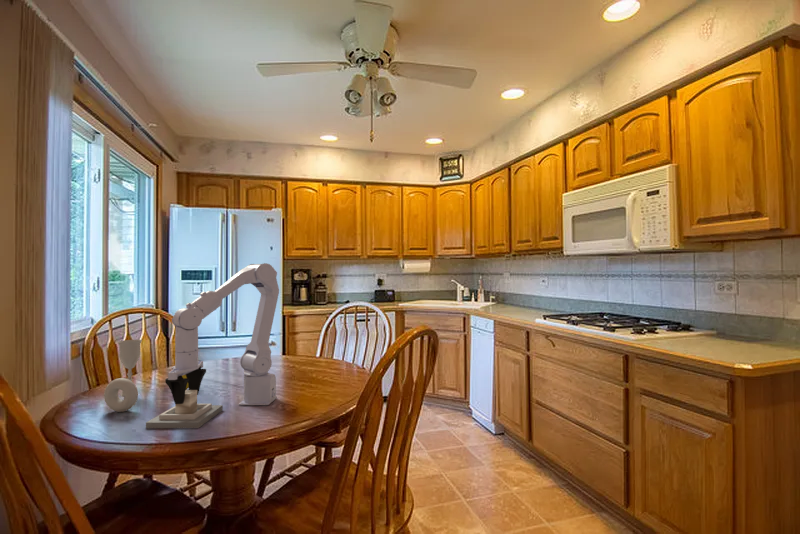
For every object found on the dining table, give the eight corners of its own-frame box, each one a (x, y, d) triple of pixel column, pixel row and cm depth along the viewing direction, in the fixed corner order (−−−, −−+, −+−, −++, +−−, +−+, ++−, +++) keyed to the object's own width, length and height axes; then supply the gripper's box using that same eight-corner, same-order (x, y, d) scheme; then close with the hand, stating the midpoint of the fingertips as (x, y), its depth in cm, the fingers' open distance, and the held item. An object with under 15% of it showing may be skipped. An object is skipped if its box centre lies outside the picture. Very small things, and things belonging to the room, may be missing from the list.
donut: (100, 413, 118) (101, 379, 118) (110, 409, 121) (110, 376, 122) (131, 414, 117) (132, 379, 117) (140, 410, 120) (141, 376, 120)
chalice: (112, 395, 135) (112, 342, 136) (132, 390, 142) (132, 339, 142) (126, 397, 133) (127, 343, 133) (146, 392, 139) (146, 340, 139)
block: (197, 410, 115) (197, 389, 115) (189, 415, 111) (189, 394, 111) (183, 410, 115) (183, 390, 115) (175, 415, 111) (175, 394, 111)
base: (222, 410, 120) (222, 401, 120) (198, 428, 106) (198, 417, 106) (176, 410, 120) (176, 401, 120) (145, 428, 106) (145, 417, 106)
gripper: (186, 346, 120) (186, 391, 120) (156, 356, 106) (156, 407, 106) (210, 346, 120) (210, 391, 120) (183, 356, 106) (183, 407, 106)
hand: (186, 399), depth 113 cm, fingers open, 7 cm apart
